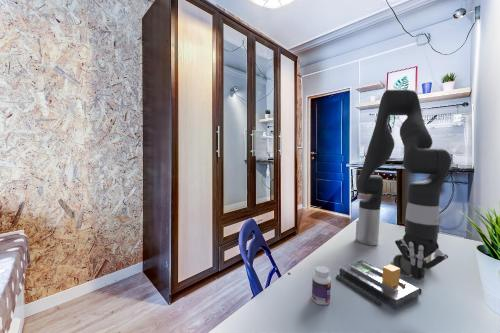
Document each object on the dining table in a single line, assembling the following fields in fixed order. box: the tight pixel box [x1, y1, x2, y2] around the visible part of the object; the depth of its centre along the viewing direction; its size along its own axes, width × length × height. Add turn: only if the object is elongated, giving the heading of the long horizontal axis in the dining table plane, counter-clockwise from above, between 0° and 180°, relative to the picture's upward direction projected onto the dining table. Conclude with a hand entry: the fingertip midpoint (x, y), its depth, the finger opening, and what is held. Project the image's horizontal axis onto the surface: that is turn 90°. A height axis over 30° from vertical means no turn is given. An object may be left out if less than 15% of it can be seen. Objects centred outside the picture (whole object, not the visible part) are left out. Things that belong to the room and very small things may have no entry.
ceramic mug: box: [390, 253, 427, 278], centre depth 87 cm, size 11×8×8 cm
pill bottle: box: [311, 265, 332, 306], centre depth 70 cm, size 5×5×10 cm
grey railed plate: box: [335, 263, 423, 307], centre depth 78 cm, size 18×19×1 cm
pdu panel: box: [338, 259, 420, 310], centre depth 78 cm, size 20×12×4 cm, turn 28°
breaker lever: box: [382, 263, 401, 287], centre depth 73 cm, size 3×4×5 cm
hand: (417, 278), depth 66 cm, fingers closed
